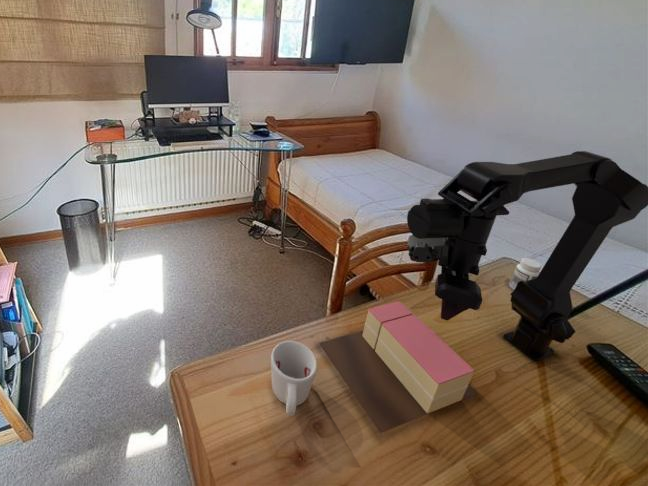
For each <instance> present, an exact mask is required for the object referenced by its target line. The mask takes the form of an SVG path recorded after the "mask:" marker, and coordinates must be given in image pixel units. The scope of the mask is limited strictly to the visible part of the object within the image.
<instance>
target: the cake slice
mask: <svg viewBox="0 0 648 486" xmlns="http://www.w3.org/2000/svg"><path fill="white" fill-rule="evenodd" d="M410 315H414V313H413V312H412V311H411V310H410V309H409V308H408V307H407V306H406V305H404V303H403V302H401V301H400V300H398V301H393V302H390V303H386V304H383V305H378V306H375V307H371V308H368V310H367V315H366V319H365V323H364V326H363V329H362V330H363V334H362V336H363V337H364V339H365V340H366V341H367V342H368V343H369V345H370V346H371V347H372V348H373V349H376V345H377V341H378V337H379V334H380V330H381V327H382V323H385V322H389V321H392V320H396V319H400V318H403V317H407V316H410Z"/></svg>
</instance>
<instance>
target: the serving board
mask: <svg viewBox="0 0 648 486" xmlns="http://www.w3.org/2000/svg"><path fill="white" fill-rule="evenodd" d="M363 330H364V329H362V330H359V331H356V332H353V333H349V334H345V335H341V336H338V337H334V338H331V339H327V340H323V341H320V342H318V344H319V346H320V347H321V349H322V350H323V352H324V354H325V355H326V356H327V358H328V360H329V361H330V362H331V364H332V365H333V366H334V368H335V369H336V371H337V373H338V374H339V375H340V377H341V378H342V380H343V381H344V383H345V384H346V386H347V387H348V389H349V390H350V392H351V393H352V394H353V396H354V397H355V399H356V400H357V402H358V403H359V405H360V406H361V408H362V409H363V411H364V412H365V413H366V415H367V417H368V418H369V420H370V421H371V422H372V424H373V426H374V428H376V430H377V431H378V433H379V434H381V433H384V432H386V431H388V430H391V429H394V428H396V427H398V426H401V425H403V424H406V423H409V422H411V421H414V420H416V419H418V418H422V417H424V416H426V415H428V414H431V413H434V412H436V411H437V410H435V411H433V412H430V413H428V414H427V413H426V412H425V410H424V409H423V408H422V407H421V406H420V404H419V403H418V402H417V401H416V400H415V398H414V397H413V396H412V395H411V394H410V392H409V391H408V390H407V389H406V388H405V386H404V385H403V384H402V383H401V382H400V380H399V379H398V378H397V377H396V376H395V374H394V373H393V372H392V371H391V370H390V368H389V367H388V366H387V365H386V364H385V363H384V361H383V360H382V359H381V358H380V357H379V355H378V354H377V353H376V352H375V349H373V348H372V347H371V346H370V345H369V343H368V342H367V341H366V340H365V339H364V337H363V336H362V334H363ZM477 394H478V392H477V391H476V390H475V388H473V387H472V386H471V385H469V384H468V387H467V389H466V391H465V393H464V395H463V398H462V400H460V401H463V400H465V399H468V398H471V397H473V396H476V395H477ZM460 401H459V402H460ZM456 403H457V402H455V403H454V404H456ZM451 405H452V404H450V405H449V406H451ZM446 407H447V406H445V407H444V408H446ZM441 409H442V408H440V409H439V410H441Z"/></svg>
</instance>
